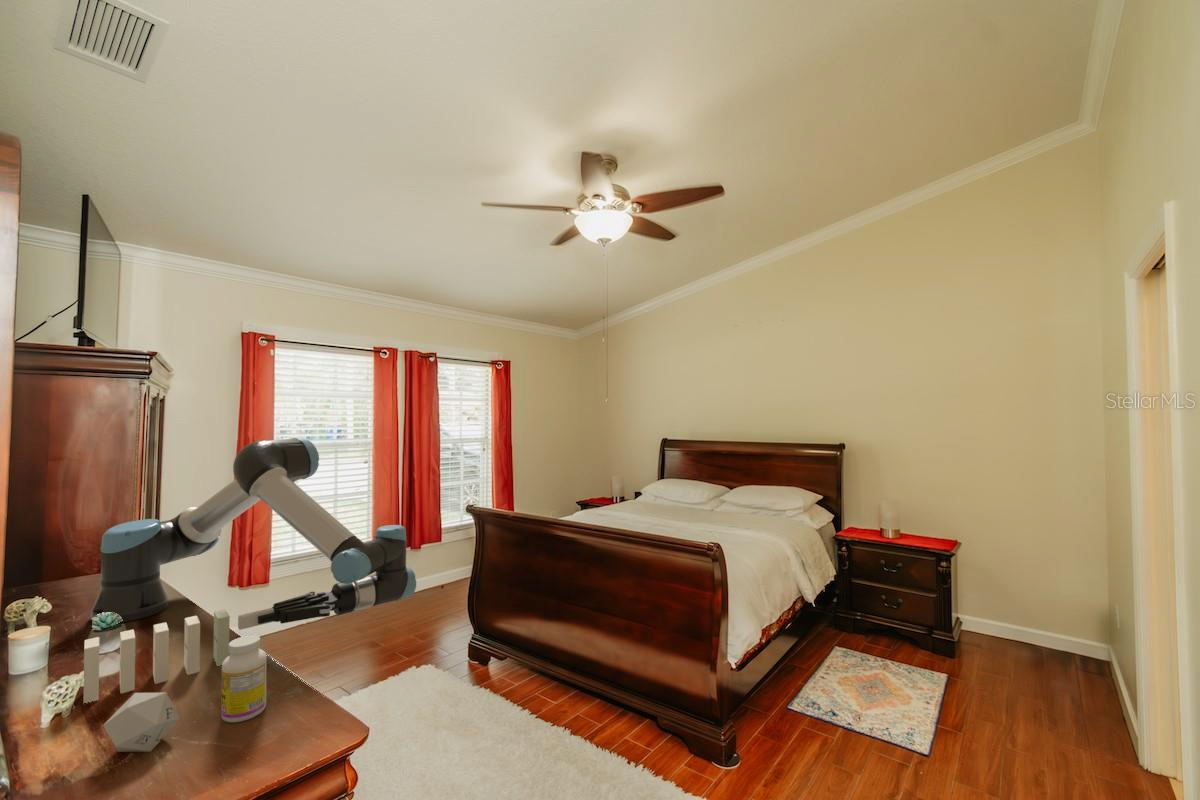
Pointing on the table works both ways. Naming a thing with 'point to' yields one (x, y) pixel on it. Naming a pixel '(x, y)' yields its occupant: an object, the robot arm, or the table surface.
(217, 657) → the domino
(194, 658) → the domino
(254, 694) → the supplement bottle
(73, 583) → the table surface
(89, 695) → the domino
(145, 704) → the die
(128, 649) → the domino
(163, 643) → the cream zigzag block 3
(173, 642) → the table surface
